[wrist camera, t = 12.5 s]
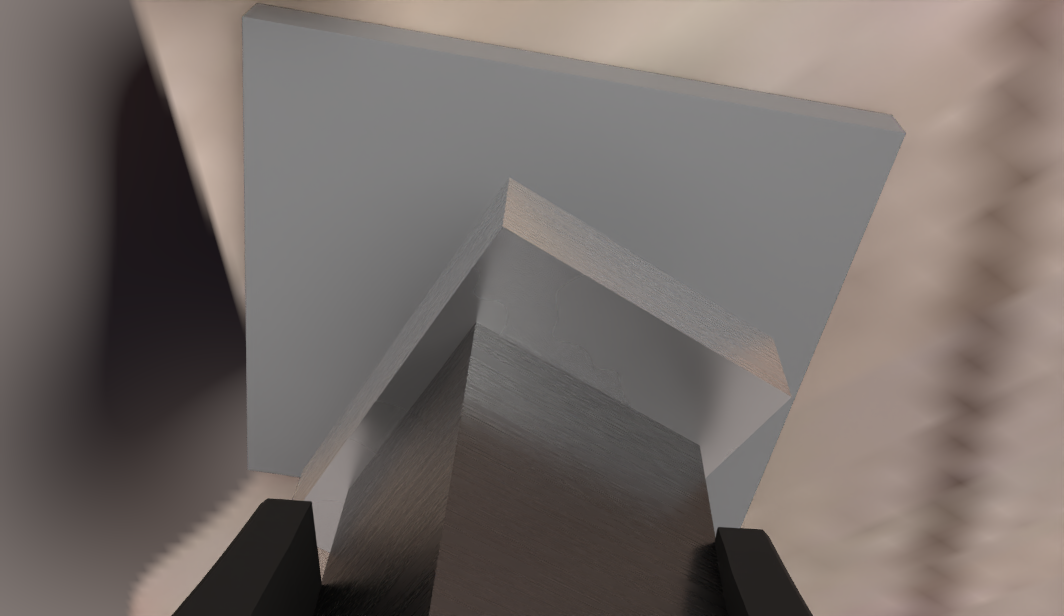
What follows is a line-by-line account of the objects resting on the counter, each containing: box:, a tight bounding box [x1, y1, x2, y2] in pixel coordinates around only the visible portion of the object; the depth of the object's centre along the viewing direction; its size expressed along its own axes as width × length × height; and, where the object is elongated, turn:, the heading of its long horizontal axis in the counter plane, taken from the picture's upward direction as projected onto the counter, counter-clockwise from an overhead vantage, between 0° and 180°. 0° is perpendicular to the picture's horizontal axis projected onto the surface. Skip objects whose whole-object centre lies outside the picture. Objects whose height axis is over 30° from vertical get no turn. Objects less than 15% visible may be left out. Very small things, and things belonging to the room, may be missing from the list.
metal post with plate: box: [293, 177, 792, 616], centre depth 12 cm, size 5×7×8 cm
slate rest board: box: [242, 3, 906, 537], centre depth 18 cm, size 11×10×1 cm
